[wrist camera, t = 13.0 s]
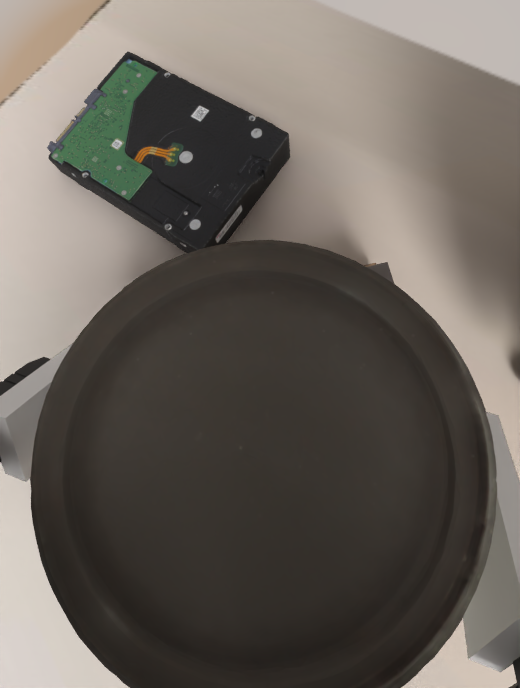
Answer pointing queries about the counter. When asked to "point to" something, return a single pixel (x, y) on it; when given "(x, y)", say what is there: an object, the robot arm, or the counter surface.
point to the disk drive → (170, 154)
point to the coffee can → (263, 476)
